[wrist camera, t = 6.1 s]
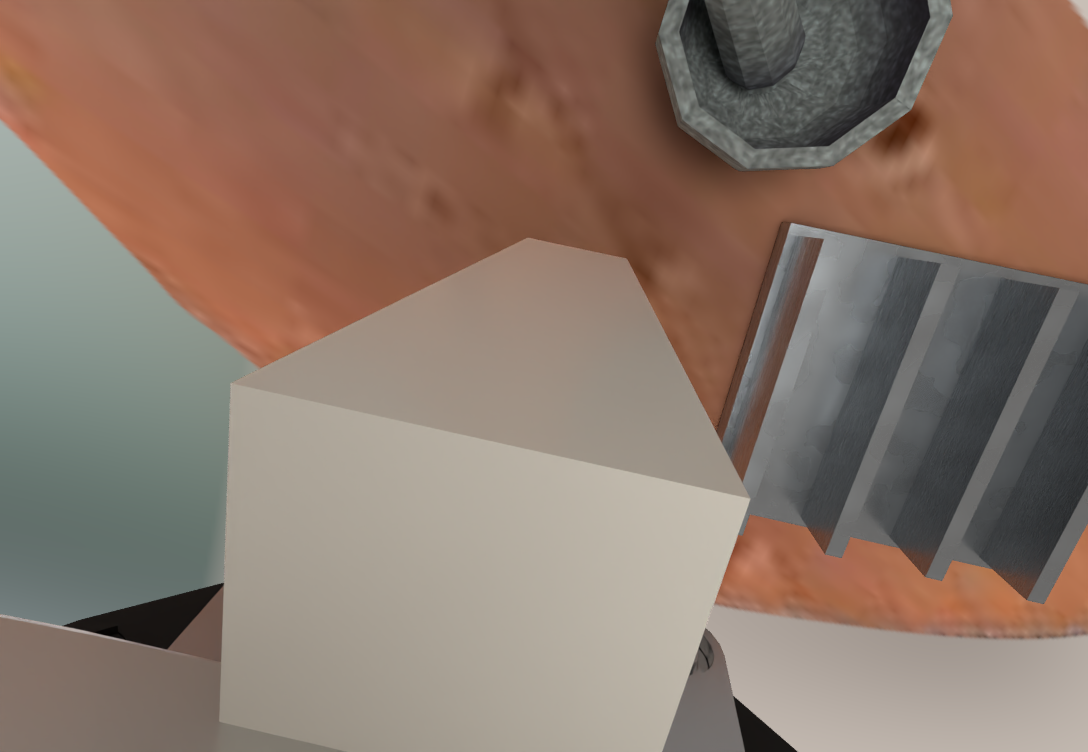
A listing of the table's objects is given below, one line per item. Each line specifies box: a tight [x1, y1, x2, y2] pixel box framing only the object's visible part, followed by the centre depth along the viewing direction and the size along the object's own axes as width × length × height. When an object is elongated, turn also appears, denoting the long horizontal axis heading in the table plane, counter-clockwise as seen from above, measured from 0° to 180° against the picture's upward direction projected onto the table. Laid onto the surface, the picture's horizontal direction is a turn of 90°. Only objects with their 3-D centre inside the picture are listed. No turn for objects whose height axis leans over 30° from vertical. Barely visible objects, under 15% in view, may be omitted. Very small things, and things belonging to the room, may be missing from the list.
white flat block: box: [219, 238, 750, 752], centre depth 10 cm, size 2×10×12 cm, turn 168°
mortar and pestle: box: [655, 0, 953, 171], centre depth 21 cm, size 11×9×12 cm
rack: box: [716, 222, 1088, 604], centre depth 28 cm, size 16×15×5 cm
